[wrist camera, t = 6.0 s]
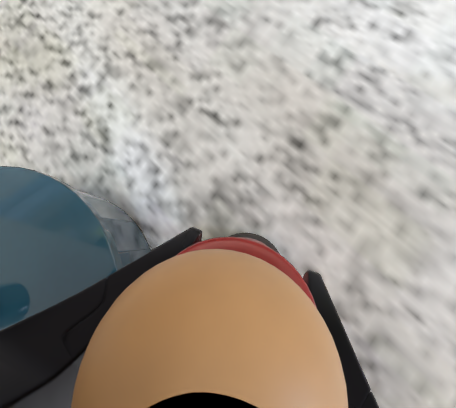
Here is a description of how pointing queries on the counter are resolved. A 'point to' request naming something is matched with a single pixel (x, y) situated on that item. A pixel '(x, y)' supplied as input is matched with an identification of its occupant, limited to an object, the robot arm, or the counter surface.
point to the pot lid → (47, 244)
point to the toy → (214, 336)
